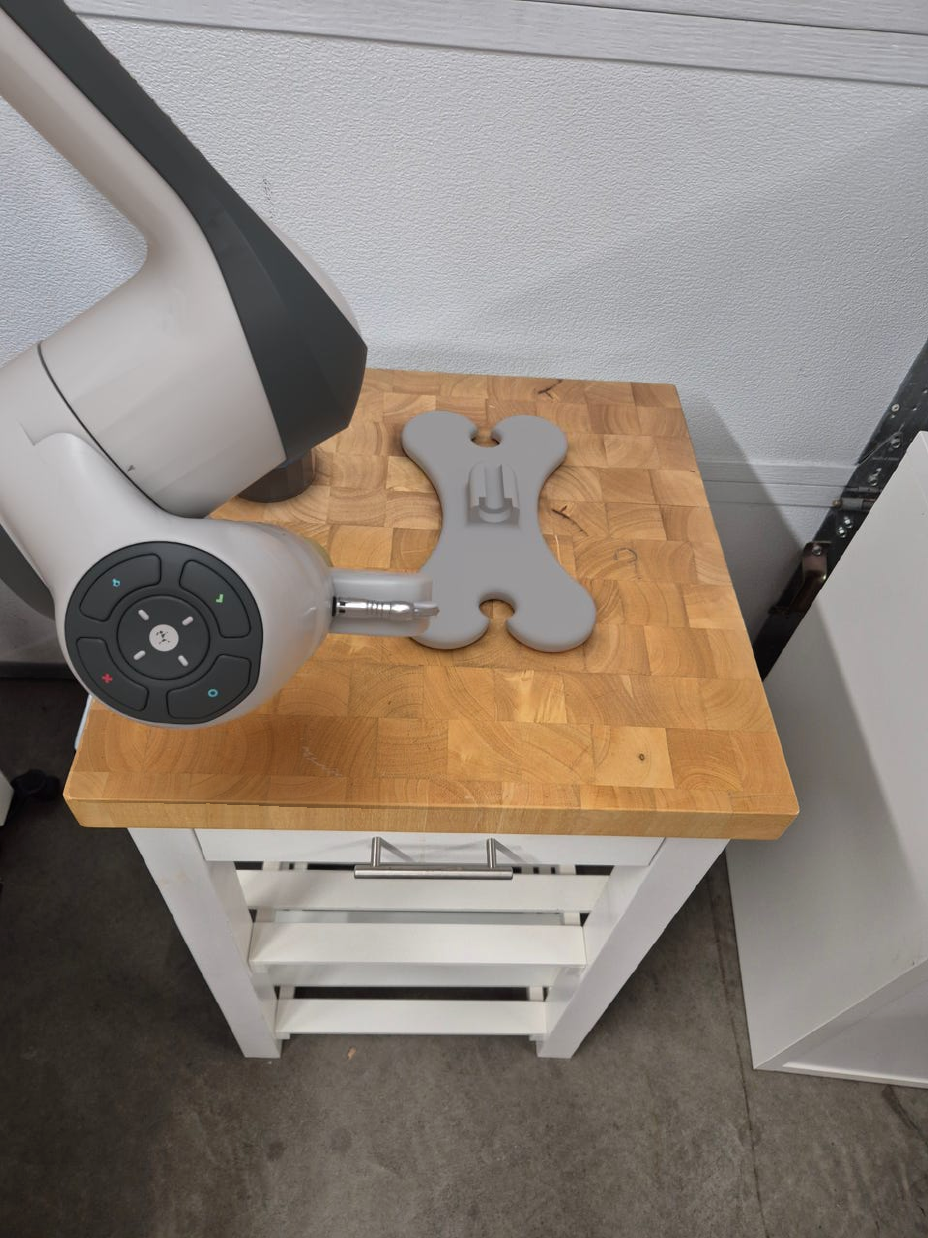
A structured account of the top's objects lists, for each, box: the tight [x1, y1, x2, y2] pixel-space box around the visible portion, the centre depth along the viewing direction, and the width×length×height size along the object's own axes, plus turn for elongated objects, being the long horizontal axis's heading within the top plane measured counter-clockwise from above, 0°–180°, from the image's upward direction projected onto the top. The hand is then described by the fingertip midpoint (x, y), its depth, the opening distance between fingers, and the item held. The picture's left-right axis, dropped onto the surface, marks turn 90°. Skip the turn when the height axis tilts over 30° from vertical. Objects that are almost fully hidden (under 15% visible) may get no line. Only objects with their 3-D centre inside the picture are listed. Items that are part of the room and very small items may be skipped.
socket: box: [236, 447, 316, 503], centre depth 87 cm, size 10×10×4 cm
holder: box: [401, 410, 597, 653], centre depth 84 cm, size 19×34×5 cm, turn 2°
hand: (291, 586), depth 59 cm, fingers closed on light bulb, 6 cm apart
